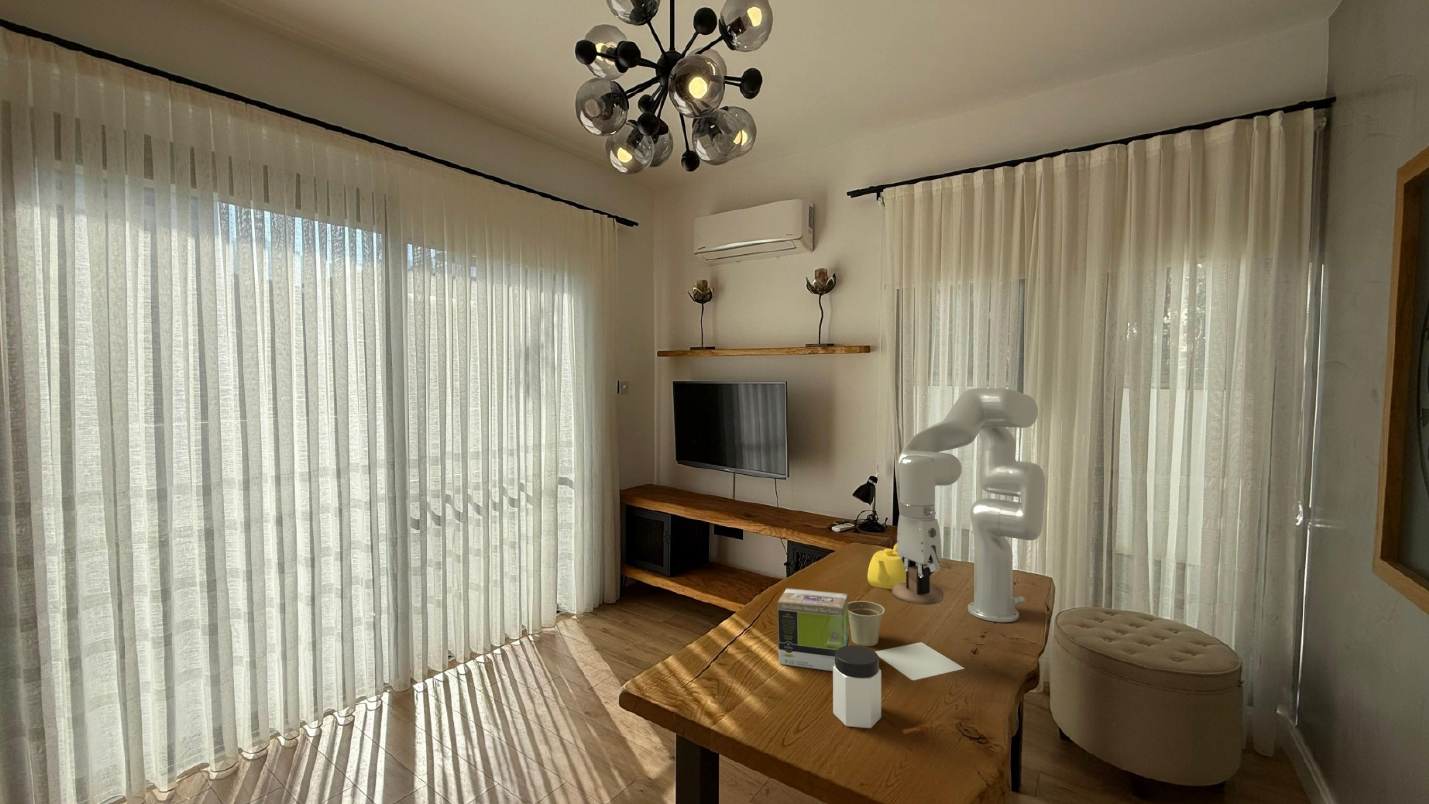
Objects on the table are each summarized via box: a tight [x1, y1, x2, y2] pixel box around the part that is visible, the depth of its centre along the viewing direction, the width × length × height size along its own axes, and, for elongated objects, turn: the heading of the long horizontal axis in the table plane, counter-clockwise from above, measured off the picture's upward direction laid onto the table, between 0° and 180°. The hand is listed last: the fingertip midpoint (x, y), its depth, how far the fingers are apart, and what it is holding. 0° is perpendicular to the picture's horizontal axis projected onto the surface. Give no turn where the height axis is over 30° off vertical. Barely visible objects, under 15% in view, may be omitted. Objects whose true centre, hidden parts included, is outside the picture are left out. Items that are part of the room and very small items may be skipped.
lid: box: [891, 566, 945, 606], centre depth 132 cm, size 11×11×6 cm
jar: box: [832, 644, 882, 729], centre depth 111 cm, size 9×8×12 cm
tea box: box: [777, 587, 850, 672], centre depth 134 cm, size 15×10×15 cm, turn 71°
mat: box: [875, 641, 965, 681], centre depth 132 cm, size 14×14×1 cm
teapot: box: [867, 543, 918, 591], centre depth 184 cm, size 22×16×11 cm
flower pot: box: [848, 600, 886, 647], centre depth 142 cm, size 9×9×9 cm
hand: (917, 590), depth 132 cm, fingers closed on lid, 2 cm apart
